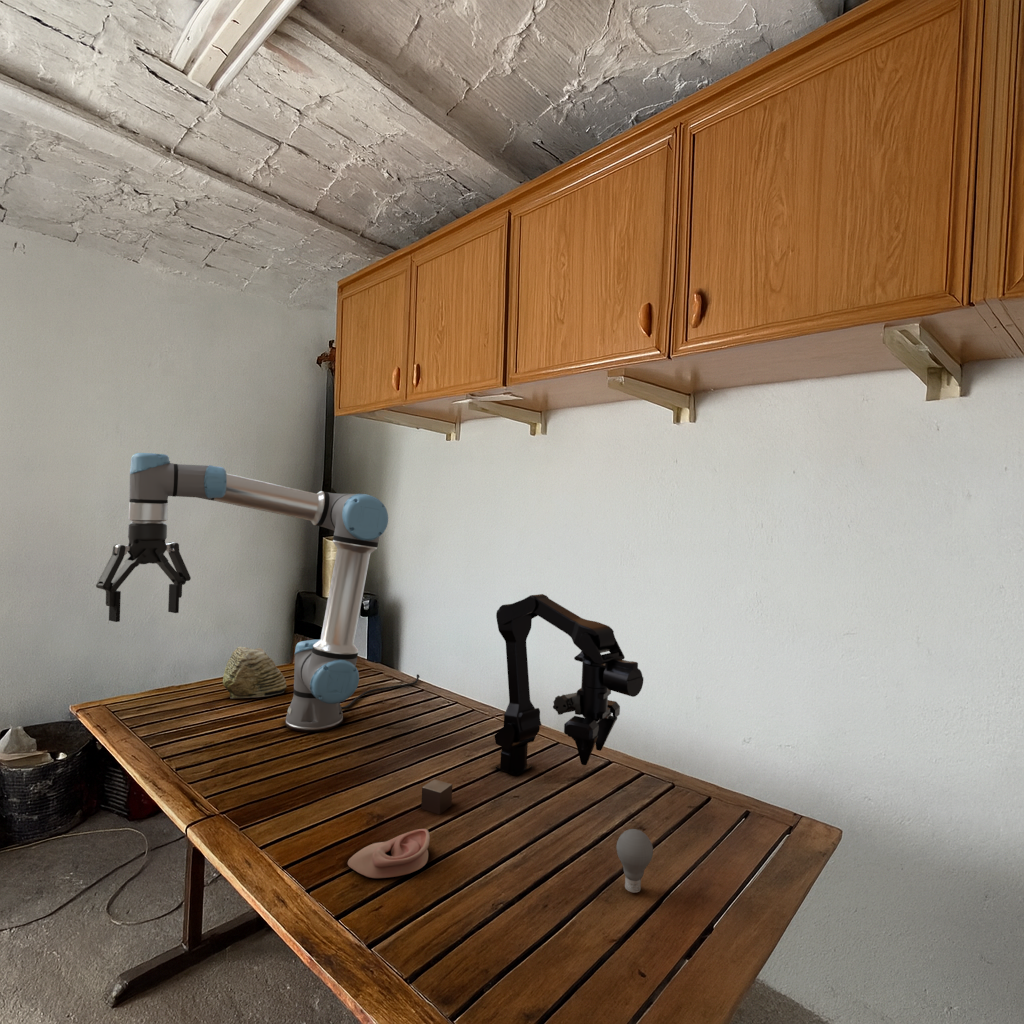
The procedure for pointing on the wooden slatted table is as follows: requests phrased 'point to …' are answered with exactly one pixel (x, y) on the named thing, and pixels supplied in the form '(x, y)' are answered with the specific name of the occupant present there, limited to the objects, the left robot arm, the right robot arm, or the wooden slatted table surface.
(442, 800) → the block
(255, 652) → the fossil
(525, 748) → the right robot arm
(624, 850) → the light bulb
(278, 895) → the wooden slatted table surface
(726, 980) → the wooden slatted table surface
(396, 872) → the anatomical model
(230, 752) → the wooden slatted table surface
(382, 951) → the wooden slatted table surface
